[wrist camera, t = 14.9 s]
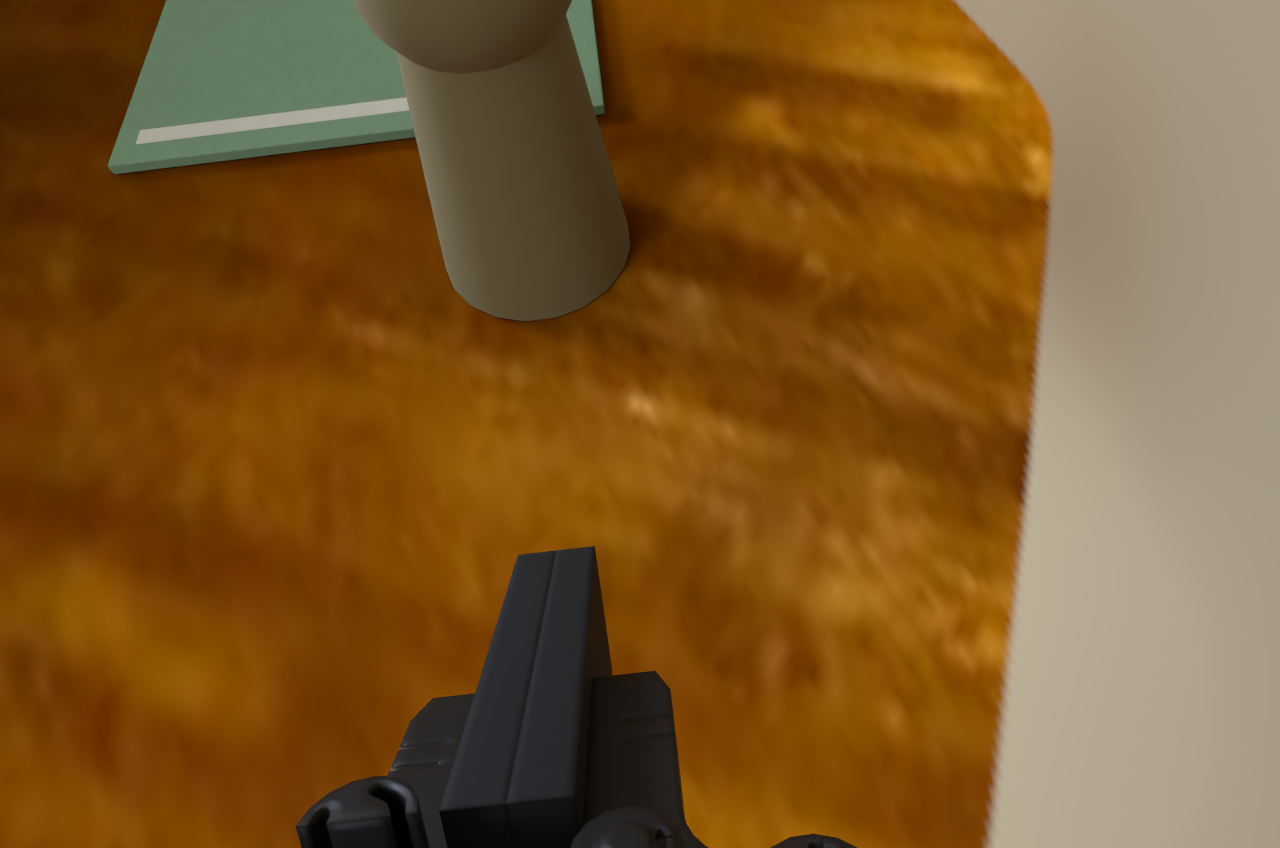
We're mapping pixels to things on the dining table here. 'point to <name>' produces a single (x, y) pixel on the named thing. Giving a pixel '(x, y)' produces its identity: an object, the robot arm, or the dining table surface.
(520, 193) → the cork
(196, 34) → the cloth
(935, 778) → the dining table surface
